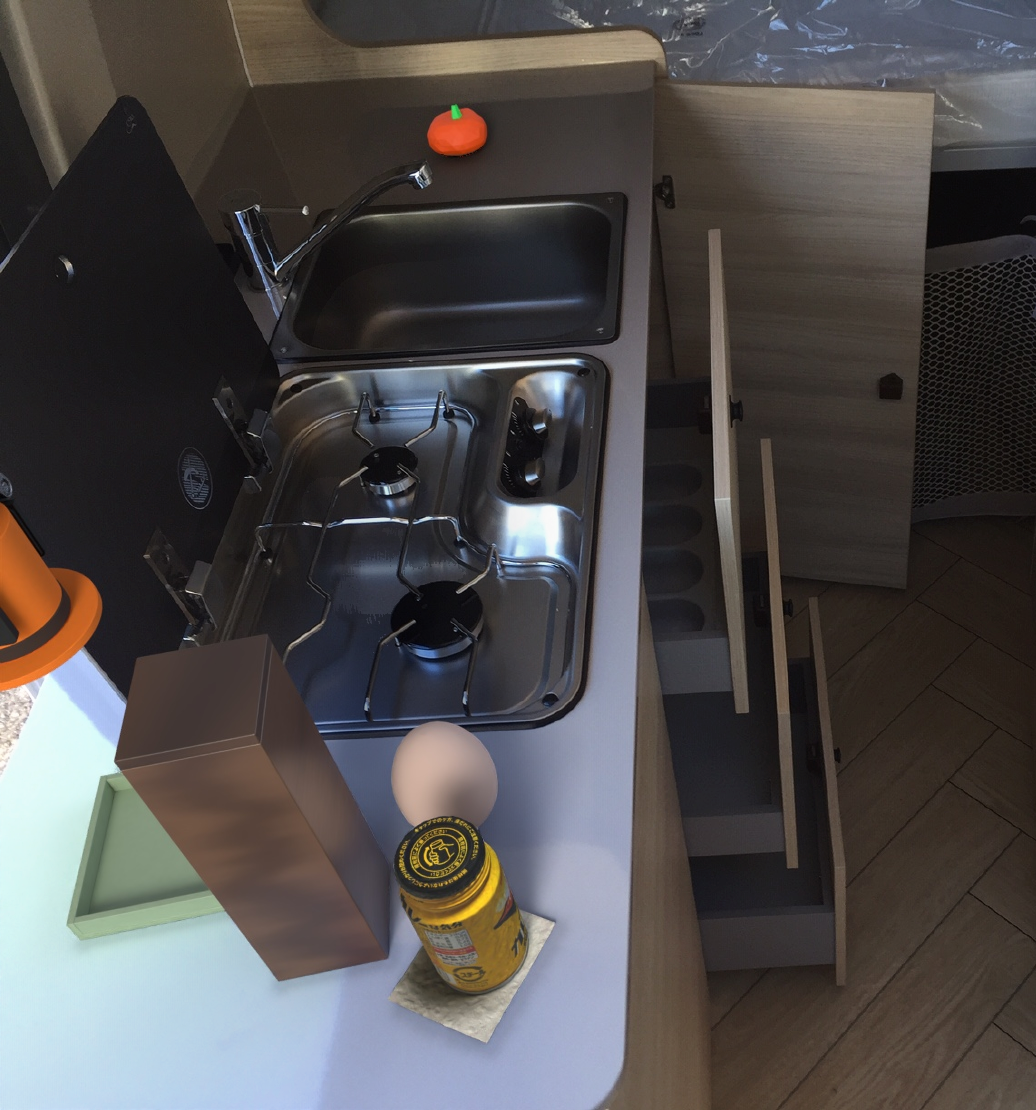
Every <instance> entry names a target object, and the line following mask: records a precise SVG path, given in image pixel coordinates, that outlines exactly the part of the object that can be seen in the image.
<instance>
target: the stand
mask: <svg viewBox="0 0 1036 1110" xmlns="http://www.w3.org/2000/svg"><path fill="white" fill-rule="evenodd" d="M113 763H114V764H115V766H116V767H117V768H118V769H119V770H120V772H122V774H123V775H124V776H125V778H126V779H127V780H128V782H129V783H130V784H131V786H132V787H133V788H134V790H135V791H136V792H137V794H138V795H139V796H140V798H141V799H142V800H143V802H144V803H145V804H146V806H147V807H148V808H149V810H150V811H151V812H152V814H153V815H154V816H155V818H156V819H157V820H158V822H159V823H160V824H161V826H162V827H163V828H164V830H165V831H166V832H167V834H168V835H169V836H170V838H171V839H172V840H173V842H174V843H175V844H176V846H177V847H178V848H179V850H180V851H181V852H182V854H183V855H184V856H185V858H186V859H187V860H188V862H189V863H190V864H191V866H192V867H193V868H194V870H195V871H196V872H197V874H198V875H199V876H200V878H201V879H202V880H203V882H204V883H205V884H206V886H207V887H208V888H209V890H210V891H211V892H212V894H213V895H214V896H215V898H216V899H217V900H218V902H219V903H220V904H221V906H222V907H223V908H224V910H225V911H224V912H226V914H227V915H228V916H229V918H230V920H231V921H232V922H233V923H234V924H235V926H236V927H237V929H238V930H239V931H240V933H241V934H242V935H243V937H244V938H245V939H246V941H247V942H248V943H249V944H250V946H251V947H252V949H253V950H254V951H255V952H256V954H257V955H258V957H259V958H260V959H261V960H262V962H263V963H264V964H265V965H266V967H267V969H268V970H269V972H270V973H271V974H272V975H273V976H274V978H275V979H276V981H277V982H283V981H284V982H285V981H289V980H293V979H297V978H302V977H303V978H304V977H307V976H312V975H317V974H322V973H327V972H332V971H337V970H340V969H346V968H351V967H355V966H359V965H364V964H365V965H366V964H368V963H372V962H373V963H374V962H378V961H384V960H387V959H389V927H390V923H389V922H390V880H391V879H390V877H391V875H390V874H391V865H390V863H389V861H388V859H387V857H386V855H385V853H384V851H383V849H382V847H381V845H380V844H379V841H378V840H377V839H376V836H375V835H374V832H373V831H372V828H371V827H370V825H369V823H368V821H367V819H366V817H365V816H364V813H363V811H362V810H361V808H360V805H359V803H358V802H357V800H356V798H355V796H354V795H353V793H352V791H351V788H350V787H349V785H348V783H347V782H346V779H345V778H344V775H343V774H342V772H341V770H340V768H339V765H337V762H336V759H334V757H333V755H332V753H331V751H330V749H329V747H328V745H327V744H326V742H325V740H324V737H323V735H322V734H321V732H320V730H319V729H318V727H317V724H316V722H315V721H314V719H313V717H312V715H311V713H310V711H309V709H308V707H307V706H306V704H305V701H304V700H303V698H302V696H301V695H300V692H299V691H298V689H297V687H296V685H295V683H294V681H293V679H292V678H291V675H290V674H289V672H288V670H287V668H286V666H285V664H284V662H283V660H282V658H281V657H280V655H279V653H278V651H277V649H276V648H275V645H274V643H273V641H272V640H271V638H270V636H269V634H268V633H263V634H257V635H252V636H246V637H242V638H236V639H231V640H226V641H221V642H214V643H211V644H204V645H198V646H194V647H188V648H183V649H178V650H172V651H167V652H162V653H155V654H150V655H145V656H139V657H137V658H136V660H135V664H134V669H133V674H132V678H131V683H130V687H129V691H128V696H127V701H126V705H125V710H124V714H123V718H122V723H121V728H120V732H119V736H118V741H117V745H116V749H115V755H114V759H113Z"/></svg>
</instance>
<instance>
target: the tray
mask: <svg viewBox="0 0 1036 1110" xmlns="http://www.w3.org/2000/svg"><path fill="white" fill-rule="evenodd" d="M86 833H87V834H86V837H85V840H84V841H85V842H84V846H83V850H82V855H81V858H80V863H79V868H78V872H77V876H76V881H75V883H74V884H75V885H74V889H73V894H72V897H71V902H70V907H69V911H68V915H67V919H66V923H65V926H66V927H67V928H68V929H69V930H70V932H72V933H73V934H74V935H75V936H76V938H77V939H78V940H80V941H84V940H90V939H95V938H99V937H104V936H109V935H113V934H114V935H115V934H119V933H124V932H129V931H135V930H138V929H144V928H148V927H154V926H158V925H162V924H168V923H173V922H178V921H182V920H188V919H193V918H196V917H202V916H208V915H213V914H218V913H222V912H226V911H225V910H224V908H223V907H222V906H221V904H220V903H219V902H218V900H217V899H216V898H215V896H214V895H213V894H212V892H211V891H210V890H209V888H208V887H207V886H206V884H205V883H204V882H203V880H202V879H201V878H200V876H199V875H198V874H197V872H196V871H195V870H194V868H193V867H192V866H191V864H190V863H189V862H188V860H187V859H186V858H185V856H184V855H183V854H182V852H181V851H180V850H179V848H178V847H177V846H176V844H175V843H174V842H173V840H172V839H171V838H170V836H169V835H168V834H167V832H166V831H165V830H164V828H163V827H162V826H161V824H160V823H159V822H158V820H157V819H156V818H155V816H154V815H153V814H152V812H151V811H150V810H149V808H148V807H147V806H146V804H145V803H144V802H143V800H142V799H141V798H140V796H139V795H138V794H137V792H136V791H135V790H134V788H133V787H132V786H131V784H130V783H129V782H128V780H127V779H126V778H125V776H124V775H123V774H122V772H121V771H119V772H114V773H110V774H105V775H101V776H99V781H98V785H97V789H96V794H95V798H94V803H93V807H92V811H91V815H90V820H89V825H88V828H87V832H86Z"/></svg>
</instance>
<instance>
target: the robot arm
mask: <svg viewBox="0 0 1036 1110" xmlns="http://www.w3.org/2000/svg"><path fill="white" fill-rule="evenodd" d="M9 479H10V478H8V477H7V476H6V475H5V474H3V473H2V472H1V471H0V503H2V504H3V505H5V507H6V508H7V509H8V510H9V512H10V513H11V515H12V516H13V518H14V519H15V520H16V522H17V523H18V525H19V526H20V528H21V529H22V531H23V532H24V534H25V535H26V537H27V538H28V539H29V541H30V542H31V544H32V545H33V547H34V548H35V550H36V551H37V553H38V554H39V555H40V557H41V558H42V557H44V556H45V555H46V552H47V549H48V546H47V544H46V543H45V541H44V539H43V537H42V536H41V535H40V533H39V532H38V531H37V529H36V527H35V526H34V525H33V523H32V522H31V520H30V519H29V517H28V516H27V514H26V513H25V512H24V510H23V508H22V507H21V505H20V504H19V502H18V501H17V500H16V498H11V497H12V496H13V485H12V483H11V480H9ZM10 498H11V499H10ZM18 636H19V631H18V630H17V628H16V627H15V626H14V624H13V623H12V622H11V620H10V619H9V618H8V616H7V615H6V614H5V612H4V611H3V610H2V608H1V607H0V646H6V645H11V644H15V643H16V642H17V640H18Z"/></svg>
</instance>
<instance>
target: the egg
mask: <svg viewBox="0 0 1036 1110" xmlns="http://www.w3.org/2000/svg"><path fill="white" fill-rule="evenodd" d="M390 779H391V780H390V781H391V787H392V794H393V797H394V800H395V802H396V805H397V807H398V809H399V811H400V812H401V814H402V815H403V816H404V818H405V819H406V821H407V822H408V823H409V824H410V825H412V826H413V828H415V827H416V826H417V825H419V824H421V823H422V822H423V821H426V820H430V819H433V818H436V817H440V816H455V817H459V818H462V819H464V820H466V821H468V822H470V823H472V824H473V825H474V826H475V827H476V828H477V829H478V828H480V827H481V826H482V825H483V824H484V822H486V820H487V818H489V817H490V814H491V812H492V810H493V808H494V806H495V803H496V801H497V796H498V788H499V787H498V785H499V784H498V783H499V782H498V775H497V770H496V765H495V762H494V761H493V758H492V756H491V754H490V752H489V751H488V749H487V748H486V747H485V745H484V744H483V742H481V740H480V739H479V738H478V737H477V736H476V735H475V734H473V733H472V732H470V731H469V730H467V729H465V728H464V727H462V726H460V725H458V724H455V723H451V722H448V721H442V720H434V721H428V722H425V723H422V724H420V725H418V726H416V727H414V728H413V729H412V730H410V731H409V732H408V733H407V734H406V735H405V736H404V737H403V739H402V740H401V742H400V743H399V744H398V747H397V748H396V751H395V754H394V756H393V761H392V766H391V775H390Z"/></svg>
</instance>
